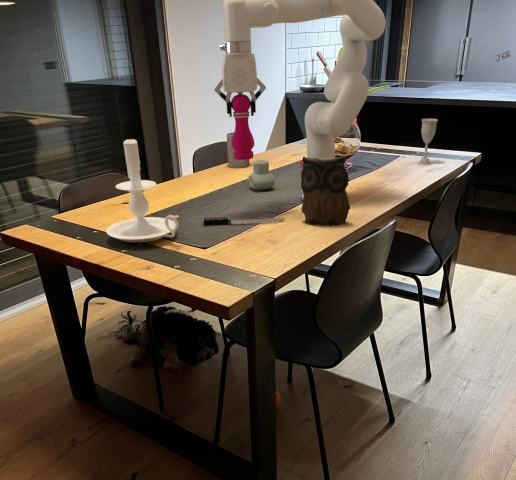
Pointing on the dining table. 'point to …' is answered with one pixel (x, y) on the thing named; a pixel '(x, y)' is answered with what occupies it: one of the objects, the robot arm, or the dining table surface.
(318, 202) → the owl
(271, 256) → the dining table surface
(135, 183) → the candlestick
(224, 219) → the knife
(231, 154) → the pillar candle
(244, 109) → the pepper mill
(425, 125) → the chalice
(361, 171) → the dining table surface
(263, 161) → the air freshener
